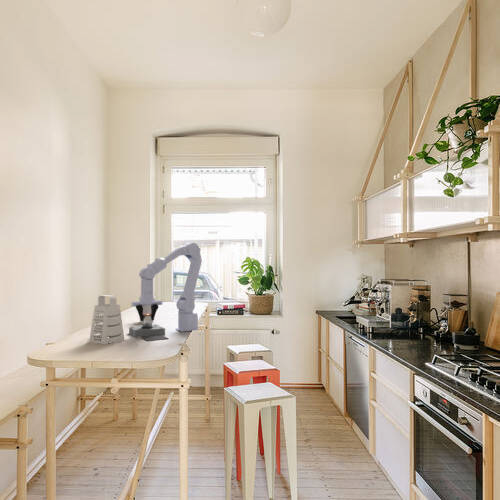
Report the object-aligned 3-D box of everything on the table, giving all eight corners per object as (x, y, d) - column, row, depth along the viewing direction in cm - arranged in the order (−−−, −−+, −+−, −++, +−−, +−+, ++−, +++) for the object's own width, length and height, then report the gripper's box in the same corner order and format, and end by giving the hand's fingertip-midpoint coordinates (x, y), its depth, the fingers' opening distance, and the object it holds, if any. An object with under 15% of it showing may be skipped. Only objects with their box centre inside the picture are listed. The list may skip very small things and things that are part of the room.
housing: (157, 330, 210) (157, 323, 210) (165, 334, 200) (165, 327, 200) (129, 333, 203) (129, 326, 203) (135, 337, 193) (135, 330, 193)
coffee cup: (135, 322, 237) (135, 295, 237) (144, 319, 246) (144, 294, 246) (150, 323, 234) (150, 296, 234) (158, 320, 243) (159, 294, 243)
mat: (161, 335, 198) (161, 334, 198) (168, 339, 189) (168, 338, 189) (140, 337, 193) (140, 336, 193) (146, 341, 184) (146, 340, 184)
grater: (105, 344, 177) (105, 297, 178) (89, 341, 183) (89, 295, 183) (124, 340, 186) (124, 295, 187) (108, 337, 192) (108, 294, 192)
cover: (150, 327, 205) (150, 313, 205) (153, 329, 201) (153, 314, 201) (140, 328, 202) (140, 314, 203) (143, 330, 198) (143, 315, 198)
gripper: (134, 293, 195) (133, 322, 195) (164, 292, 202) (164, 320, 202) (130, 292, 201) (130, 320, 201) (159, 291, 208) (159, 318, 208)
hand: (147, 320), depth 202 cm, fingers closed on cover, 5 cm apart
